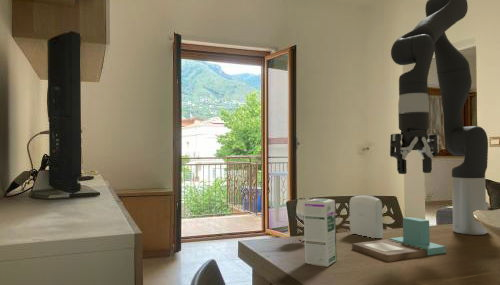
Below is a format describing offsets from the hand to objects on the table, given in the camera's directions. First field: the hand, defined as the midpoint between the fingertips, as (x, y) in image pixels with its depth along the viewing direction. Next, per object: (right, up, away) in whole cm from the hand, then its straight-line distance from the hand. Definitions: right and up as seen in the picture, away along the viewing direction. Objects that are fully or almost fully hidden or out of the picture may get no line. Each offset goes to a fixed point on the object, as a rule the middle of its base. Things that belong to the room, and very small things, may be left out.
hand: (414, 173), depth 103 cm
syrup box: (-27, -20, -12) cm, 36 cm away
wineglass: (-27, -21, +11) cm, 35 cm away
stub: (0, -20, -1) cm, 20 cm away
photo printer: (-8, -21, +15) cm, 27 cm away
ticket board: (-9, -20, -4) cm, 22 cm away
